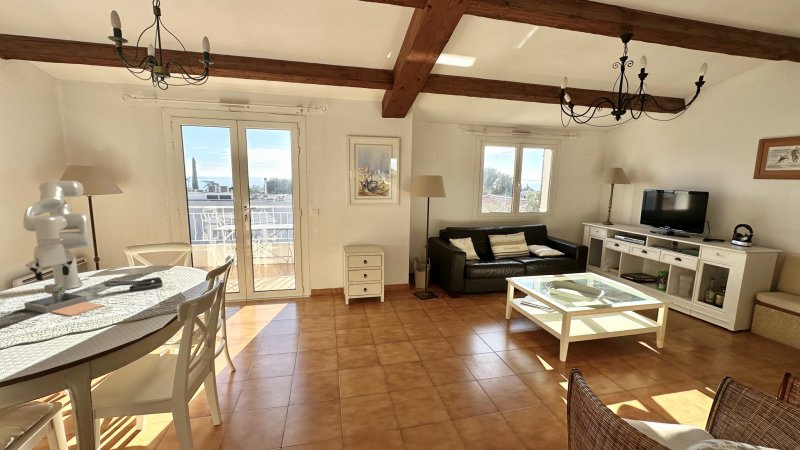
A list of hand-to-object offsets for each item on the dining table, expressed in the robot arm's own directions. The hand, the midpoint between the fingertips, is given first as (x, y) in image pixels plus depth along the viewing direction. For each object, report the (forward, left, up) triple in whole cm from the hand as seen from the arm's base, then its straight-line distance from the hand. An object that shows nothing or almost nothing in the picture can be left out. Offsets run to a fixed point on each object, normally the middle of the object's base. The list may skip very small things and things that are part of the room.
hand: (53, 277), depth 158 cm
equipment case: (-4, 0, -14) cm, 15 cm away
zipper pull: (-29, +11, -15) cm, 34 cm away
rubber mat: (0, +15, -14) cm, 21 cm away
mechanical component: (0, 0, -14) cm, 14 cm away
